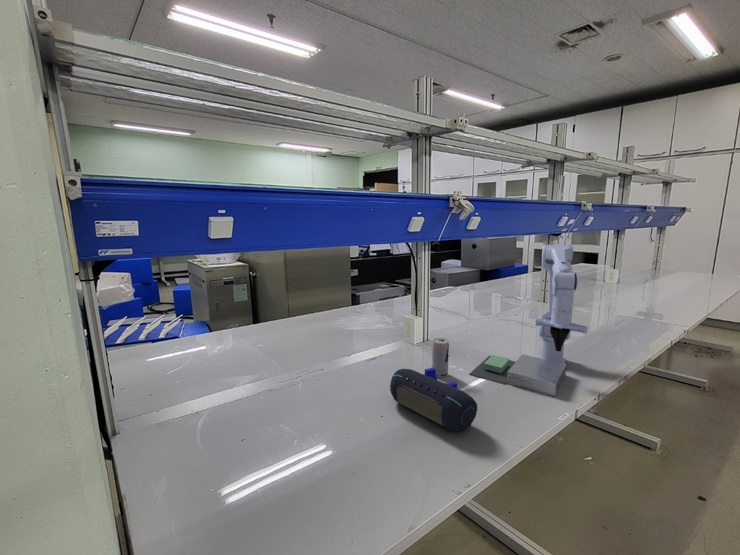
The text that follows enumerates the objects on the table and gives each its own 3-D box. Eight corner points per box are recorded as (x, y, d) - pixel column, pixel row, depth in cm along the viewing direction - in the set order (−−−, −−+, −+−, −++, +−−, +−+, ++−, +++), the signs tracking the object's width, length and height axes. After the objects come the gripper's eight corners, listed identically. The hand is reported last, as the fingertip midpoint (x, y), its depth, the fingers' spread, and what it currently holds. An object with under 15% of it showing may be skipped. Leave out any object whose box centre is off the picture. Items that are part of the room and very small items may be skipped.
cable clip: (460, 401, 102) (461, 382, 100) (447, 405, 100) (448, 385, 99) (436, 384, 112) (436, 366, 111) (424, 387, 110) (424, 369, 109)
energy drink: (449, 373, 120) (451, 339, 118) (444, 379, 115) (445, 344, 113) (434, 370, 122) (435, 337, 120) (429, 375, 118) (430, 341, 116)
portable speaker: (383, 403, 101) (383, 370, 99) (407, 391, 107) (407, 360, 106) (457, 444, 82) (459, 404, 81) (480, 427, 89) (482, 390, 87)
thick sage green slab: (509, 358, 124) (509, 366, 124) (492, 354, 128) (492, 361, 128) (501, 367, 117) (500, 375, 117) (483, 363, 121) (483, 370, 121)
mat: (489, 356, 134) (489, 355, 134) (522, 363, 127) (522, 363, 127) (469, 374, 119) (469, 373, 118) (505, 384, 111) (505, 383, 111)
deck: (521, 364, 126) (522, 354, 125) (565, 375, 118) (566, 364, 117) (506, 383, 112) (507, 371, 111) (554, 396, 104) (556, 384, 103)
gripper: (534, 308, 112) (531, 349, 115) (587, 316, 104) (582, 359, 106) (539, 304, 118) (536, 342, 120) (589, 311, 109) (585, 352, 111)
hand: (558, 350), depth 113 cm, fingers closed
